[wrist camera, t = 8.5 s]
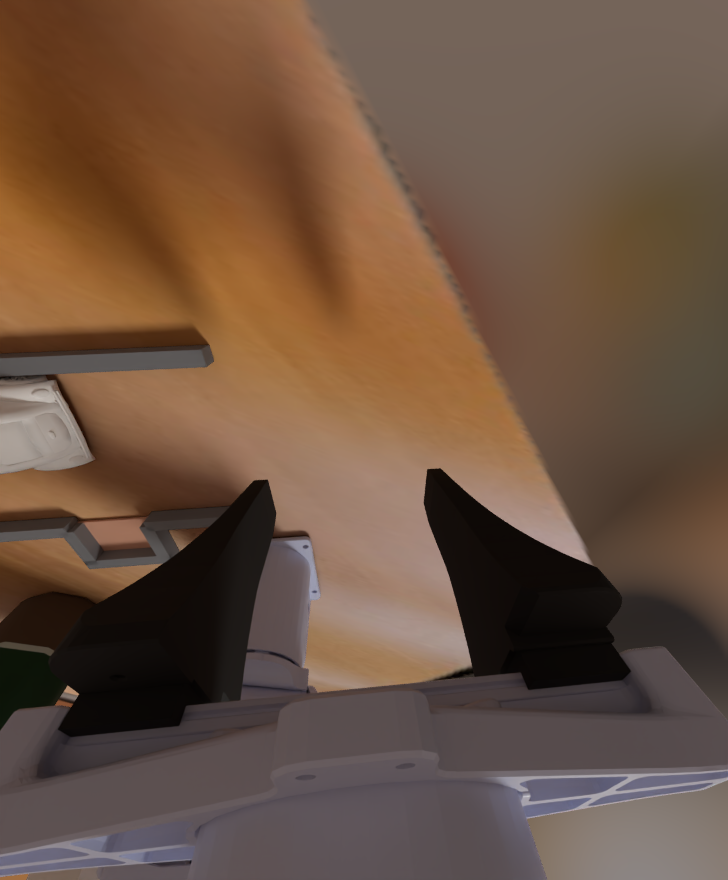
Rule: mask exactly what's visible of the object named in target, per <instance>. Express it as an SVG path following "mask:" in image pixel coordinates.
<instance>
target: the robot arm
mask: <svg viewBox="0 0 728 880" xmlns="http://www.w3.org/2000/svg"><path fill="white" fill-rule="evenodd" d="M424 506H425V510H426V514H427V518H428V522H429V525H430V527H431V530H432V533H433V535H434V538H435V540H436V543H437V545H438V548H439V550H440V553H441V555H442V558H443V560H444V563H445V565H446V568H447V571H448V574H449V577H450V581H451V584H452V588H453V591H454V595H455V598H456V602H457V606H458V609H459V613H460V617H461V621H462V625H463V629H464V633H465V637H466V641H467V645H468V649H469V654H470V658H471V663H472V667H473V671H474V676H475V677H470V678H459V679H449V680H439V681H429V682H419V683H409V684H399V685H389V686H379V687H369V688H359V689H349V690H339V691H329V692H319V693H317V691H316V689H315V687H313V686H308V673H309V670H308V669H306V668H303V667H304V663H305V658H306V647H307V636H308V625H309V614H310V602H311V600H318V599H319V598H320V588H319V583H318V577H317V572H316V566H315V560H314V555H313V549H312V544H311V539H310V538H309V537H307V536H302V537H289V538H276V539H272V536H273V532H274V526H275V519H276V510H275V506H274V502H273V498H272V494H271V490H270V486H269V482H268V480H255V481H253V482H252V483H251V484H250V485H249V486H248V487H247V489H246V490H245V491H244V492H243V493H242V494H241V495H240V496H239V497H238V498H237V499H236V500H235V502H234V503H233V504H232V505H231V506H230V507H229V508H228V509H227V510H226V511H225V512H224V513H223V514H222V515H221V516H220V517H219V518H218V519H217V520H216V521H215V522H214V523H213V524H212V525H211V526H210V527H209V528H208V529H206V530H205V531H204V532H203V533H202V534H201V535H200V536H198V537H197V538H196V539H195V540H194V541H192V542H191V543H190V544H189V545H188V546H186V547H185V548H184V549H183V550H181V551H180V552H179V553H177V554H176V555H174V556H173V557H172V558H170V559H169V560H167V561H166V562H165V563H163V564H162V565H161V566H159V567H158V568H156V569H155V570H153V571H152V572H150V573H149V574H147V575H146V576H144V577H143V578H141V579H139V580H138V581H136V582H135V583H133V584H131V585H130V586H128V587H126V588H125V589H123V590H121V591H120V592H118V593H116V594H114V595H112V596H111V597H109V598H107V599H105V600H103V601H102V602H100V603H98V604H96V605H95V606H93V607H91V608H89V609H87V610H85V611H84V612H83V613H82V615H81V616H80V617H79V618H78V620H77V621H76V623H75V624H74V625H73V627H72V628H71V629H70V631H69V632H68V633H67V635H66V636H65V637H64V639H63V640H62V641H61V643H60V644H59V645H58V647H57V648H56V649H55V651H54V652H53V653H52V655H51V656H50V658H49V661H48V663H49V667H50V670H51V672H52V673H53V674H54V675H55V676H56V677H58V678H59V679H60V680H62V681H63V682H64V683H66V684H67V685H68V686H70V687H71V688H72V689H73V690H75V691H76V692H77V693H79V695H78V697H77V699H76V700H75V702H74V704H73V705H72V707H71V708H70V707H66V706H46V707H36V708H25V709H19V710H17V711H15V712H14V713H13V714H12V715H11V717H10V718H9V720H8V721H7V722H6V724H5V725H4V726H3V728H2V729H1V730H0V877H3V876H12V875H20V874H29V873H39V872H49V871H59V870H70V869H82V868H94V867H98V868H97V871H96V874H97V878H98V879H100V880H547V877H546V874H545V872H544V869H543V866H542V863H541V860H540V857H539V854H538V851H537V848H536V845H535V842H534V839H533V836H532V833H531V830H530V827H529V824H528V821H527V818H533V817H538V816H543V815H550V814H555V813H561V812H567V811H573V810H578V809H584V808H589V807H595V806H601V805H607V804H613V803H618V802H625V801H630V800H636V799H643V798H649V797H656V796H663V795H669V794H677V793H684V792H692V791H700V790H704V789H707V788H709V787H712V786H714V785H716V784H719V783H721V782H724V781H727V780H728V721H727V719H726V718H725V717H724V716H723V715H722V714H721V712H720V711H719V710H718V709H717V708H716V707H715V705H714V704H713V703H712V702H711V701H710V700H709V699H708V697H707V696H706V695H705V694H704V693H703V691H702V690H700V688H699V687H698V686H697V684H696V683H695V682H694V681H693V680H692V679H691V677H690V676H689V675H688V674H687V673H686V672H685V670H684V669H683V668H682V667H681V666H680V665H679V663H678V662H677V661H676V660H675V659H674V657H673V656H672V655H671V654H670V653H669V652H668V650H667V649H666V648H664V647H661V646H659V647H649V648H639V649H631V650H626V651H623V652H621V653H620V654H619V653H618V652H617V651H616V649H615V648H614V646H613V645H612V644H611V643H612V642H614V637H613V635H612V634H611V633H610V631H609V630H608V629H607V627H606V626H607V625H608V624H609V623H610V621H611V620H612V618H613V617H614V616H615V615H616V613H617V612H618V611H619V609H620V607H621V604H622V597H621V595H620V593H619V592H618V591H617V590H616V588H615V587H614V586H613V585H612V584H611V583H610V581H609V580H608V579H607V578H606V577H605V576H604V574H603V573H602V572H601V571H600V570H599V569H598V568H597V567H594V566H592V565H590V564H587V563H585V562H582V561H580V560H578V559H575V558H573V557H570V556H568V555H566V554H563V553H561V552H559V551H557V550H555V549H553V548H551V547H549V546H547V545H545V544H543V543H541V542H539V541H537V540H535V539H533V538H532V537H530V536H528V535H526V534H525V533H523V532H521V531H519V530H518V529H516V528H514V527H513V526H511V525H510V524H508V523H507V522H505V521H504V520H502V519H500V518H499V517H497V516H496V515H495V514H493V513H492V512H490V511H489V510H488V509H487V508H485V507H484V506H483V505H481V504H480V503H479V502H478V501H476V500H475V499H474V498H473V497H471V496H470V495H469V494H468V493H467V492H466V491H464V490H463V489H462V488H461V487H460V486H459V485H458V484H457V483H456V482H455V481H453V480H452V479H451V478H450V477H449V476H448V475H447V474H446V473H445V472H444V471H443V470H442V469H441V468H439V469H427V477H426V486H425V496H424Z"/></svg>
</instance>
